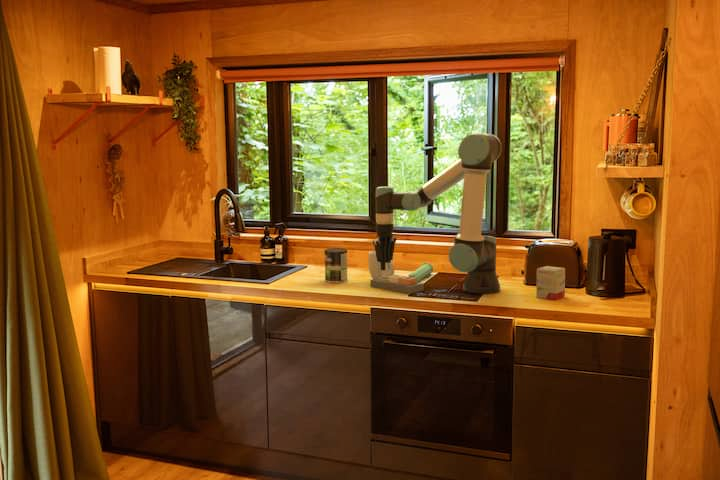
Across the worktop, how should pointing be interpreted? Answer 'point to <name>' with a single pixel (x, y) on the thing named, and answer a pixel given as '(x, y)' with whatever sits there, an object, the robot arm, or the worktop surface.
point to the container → (422, 271)
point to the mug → (378, 266)
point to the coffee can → (336, 265)
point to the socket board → (397, 286)
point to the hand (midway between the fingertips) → (385, 277)
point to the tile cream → (395, 278)
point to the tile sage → (382, 279)
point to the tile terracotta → (408, 281)
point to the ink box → (550, 282)
